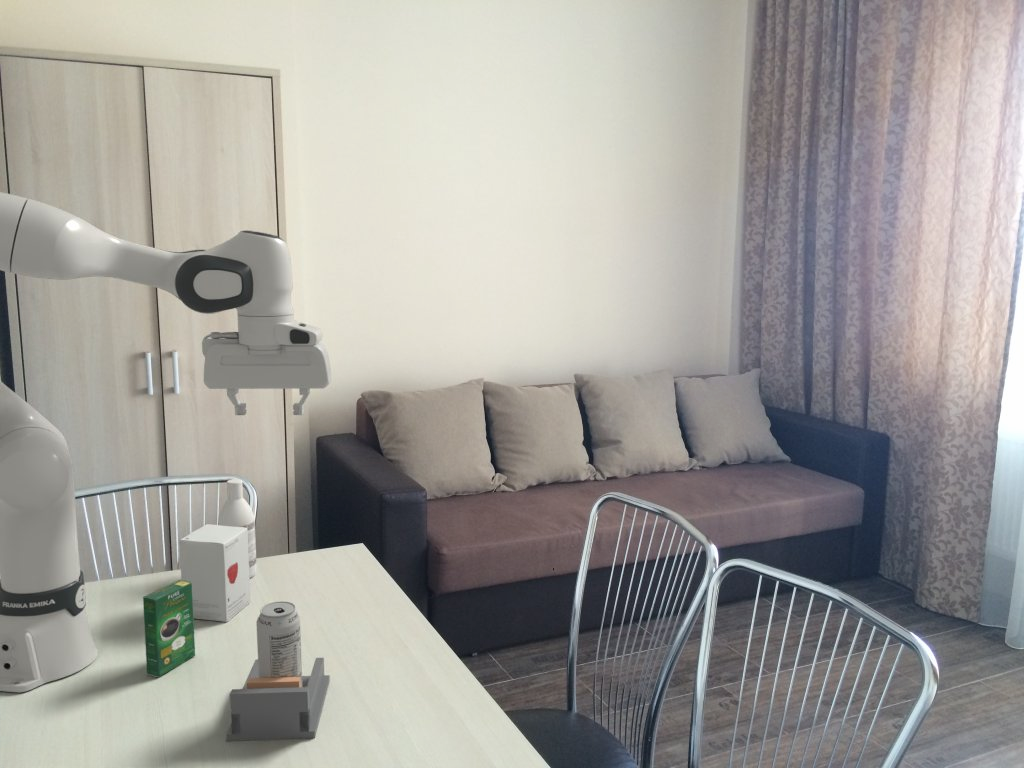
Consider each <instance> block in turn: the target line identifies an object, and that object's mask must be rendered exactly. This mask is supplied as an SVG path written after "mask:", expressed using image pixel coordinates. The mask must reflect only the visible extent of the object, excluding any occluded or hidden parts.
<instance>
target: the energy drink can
mask: <svg viewBox="0 0 1024 768" xmlns="http://www.w3.org/2000/svg"><path fill="white" fill-rule="evenodd" d="M259 612H260V614H259V616H258V617H257V619H256V623H255V624H256V625H255V626H256V641H257V643H256V644H257V659H258V668H259V678H281V677H301V687H302V676H303V667H302V666H303V665H302V663H303V662H302V640H301V616H300V614H299V613H298V611H297V610H296V606H295V604H294V603H292V602H290V601H273V602H270V603H267V604H264V606H262V607H261V608H260V611H259Z"/></svg>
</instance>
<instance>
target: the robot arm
mask: <svg viewBox="0 0 1024 768" xmlns="http://www.w3.org/2000/svg"><path fill="white" fill-rule="evenodd" d="M0 271H2V272H5V273H11V274H14V275H18V276H23V277H29V278H36V279H45V280H46V279H47V280H55V281H56V280H63V281H68V280H75V279H80V278H81V279H83V278H90V277H91V278H92V277H101V278H103V277H104V278H112V279H118V280H122V281H127V282H129V283H130V282H132V283H135V284H139V285H143V286H144V285H145V286H148V287H153V288H157V289H160V290H163V291H166V292H168V293H169V294H172V295H173V296H174V297H175V298H177V299H178V300H179V301H181V302H182V303H183V304H184V305H185V306H186V307H187V308H188V309H190V310H191V311H194V312H196V313H199V314H202V315H203V314H205V315H213V314H214V315H215V314H218V313H221V312H224V311H229V310H233V309H235V310H236V312H237V313H236V314H237V331H226V332H225V331H224V332H221V331H212V332H210V333H209V334H207V335H205V336H204V337H203V338H202V341H201V349H202V354H203V356H204V363H203V365H204V366H203V384H204V385H205V386H206V387H207V388H208V389H209V390H210V389H211V390H212V389H213V390H226V395H227V398H228V399H229V400H230V402H231V403H232V405H233V406H234V415H235V416H245V415H247V409H246V408H247V403H246V402H245V403H244V402H241V401H240V398H239V397H238V395H237V394H239V393H240V392H239V391H240V390H241V389H242V390H243V389H244V390H247V389H248V390H250V389H251V390H252V389H253V390H254V389H255V390H257V389H258V390H260V389H261V390H263V389H264V390H265V389H266V390H267V389H273V390H274V389H275V390H276V389H278V390H279V389H280V390H281V389H287V390H288V389H290V390H291V389H295V390H297V389H298V390H299V391H298V393H299V395H300V396H302V397H301V399H300V400H299V402H294V404H292V410H293V412H292V414H293V416H303V415H304V413H305V409H304V408H305V407H304V406H305V405H304V404H305V403H306V401H307V399H308V397H309V395H310V394H311V389H312V390H313V389H314V390H315V389H316V390H317V389H320V390H321V389H325V388H327V387H328V386H329V385H330V384H331V381H332V373H331V372H332V371H331V362H330V357H329V352H328V349H327V348H326V346H325V345H324V344H323V343H322V342H321V341H322V339H323V331H322V329H321V328H319V327H317V326H313V325H309V324H307V323H305V322H304V323H303V322H301V321H298V320H295V319H294V318H295V316H294V315H295V313H294V309H293V306H292V299H291V298H292V293H293V292H292V291H293V287H294V286H293V285H294V284H293V267H292V259H291V254H290V250H289V246H288V244H287V243H286V241H285V240H283V238H281V237H280V236H278V235H275V234H270V233H266V232H261V231H254V230H242V231H241V230H240V231H239V232H238V233H237V234H236V235H235V236H233V237H231V238H229V239H228V240H226V241H224V242H222V243H220V244H218V245H215V246H213V247H211V248H208V249H193V250H187V251H179V252H178V251H169V250H164V249H162V248H156V247H152V246H148V245H146V244H141V243H136V242H133V241H129V240H126V239H122V238H119V237H117V236H114V235H111V234H110V233H107V232H105V231H104V230H102V229H99V228H97V227H96V226H94V225H93V224H91V223H90V222H88V221H86V220H85V219H83V218H81V217H79V216H76V215H75V214H73V213H71V212H68V211H66V210H63V209H61V208H58V207H57V206H54V205H51V204H47V203H46V202H43V201H38V200H35V199H32V198H28V197H24V196H20V195H17V194H16V195H15V194H11V193H6V192H3V191H2V192H1V191H0ZM74 475H75V474H74V464H73V460H72V456H71V453H70V450H69V446H68V443H67V441H66V438H65V436H64V435H63V434H62V432H61V431H60V430H59V429H58V428H57V427H56V426H55V425H53V424H52V422H50V420H48V419H47V418H46V417H45V416H43V414H41V412H39V411H37V410H36V409H35V408H34V407H33V406H32V405H30V404H29V403H28V402H27V401H25V400H24V399H23V398H22V397H21V396H19V395H18V394H17V393H16V392H14V391H13V390H12V389H11V388H10V387H9V386H8V385H6V384H5V383H4V382H2V380H0V692H7V693H8V692H10V693H24V692H25V693H26V692H28V691H30V690H33V689H35V688H38V687H40V686H41V685H44V684H46V683H49V682H52V681H57V680H60V679H62V678H66V677H68V676H70V675H74V674H76V673H77V672H79V671H82V670H83V669H85V668H87V667H88V666H89V665H90V664H92V663H93V662H94V661H95V660H96V658H97V657H98V655H99V648H98V646H97V644H96V641H95V639H94V637H93V634H92V632H91V628H90V623H89V621H88V617H87V616H88V615H87V611H86V605H87V603H86V601H87V591H86V586H85V584H86V583H85V578H84V576H85V575H84V572H83V571H82V570H81V565H80V552H79V543H78V541H79V540H78V530H77V529H78V528H77V512H76V511H77V509H76V507H77V505H76V492H75V491H76V489H75V488H76V487H75V477H74Z"/></svg>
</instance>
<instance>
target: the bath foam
mask: <svg viewBox="0 0 1024 768" xmlns="http://www.w3.org/2000/svg"><path fill="white" fill-rule="evenodd" d="M243 490H244V489H243V480H242V479H239V478H233V479H229V480H227V481H226V492H227V493H226V494H227V499H226V501H225V503H224V504H223V505H222V508H221V509H220V511H219V514H218V519H217V521H218V523H217V525H221V526H232V527H244V528H247V529H248V554H249V577H250V579H252V578H253V577H254V576H256V574H257V572H258V568H257V546H256V543H257V542H256V529H255V528H256V525H255V524H256V523H255V522H256V521H255V520H256V519H255V514H254V512H253V509H252V507H251V506H250V504H249V503H248V502H247V500H246V499H245V498H244V493H243V492H244V491H243Z"/></svg>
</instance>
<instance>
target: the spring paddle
mask: <svg viewBox="0 0 1024 768" xmlns="http://www.w3.org/2000/svg"><path fill="white" fill-rule="evenodd" d="M295 687H301V677H281V678H249V679H248V681H247V689H261V688H295Z"/></svg>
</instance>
